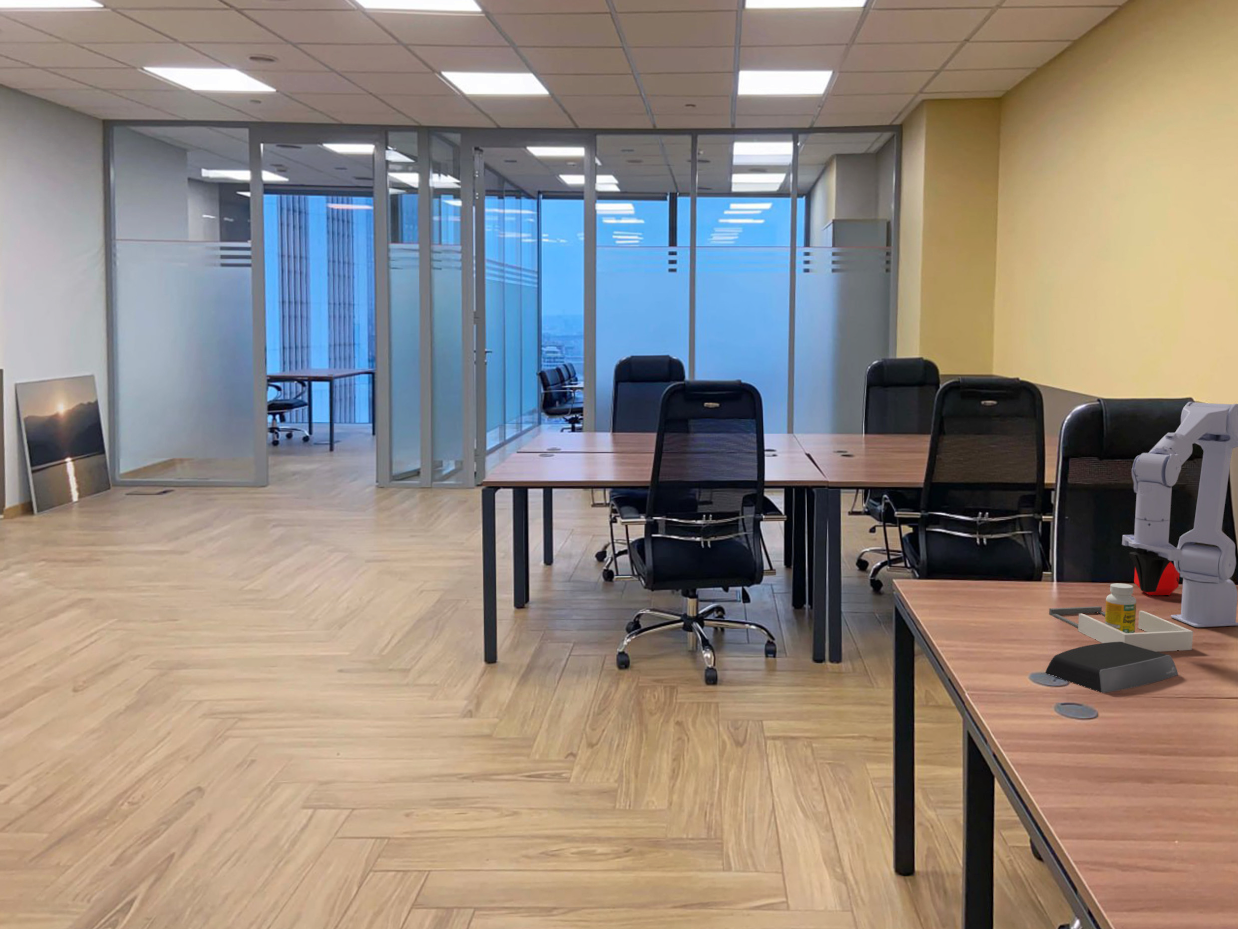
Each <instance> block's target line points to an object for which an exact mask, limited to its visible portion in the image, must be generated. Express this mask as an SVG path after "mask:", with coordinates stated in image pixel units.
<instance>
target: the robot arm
mask: <svg viewBox="0 0 1238 929" xmlns="http://www.w3.org/2000/svg"><path fill="white" fill-rule="evenodd" d="M1193 444H1196V445H1197V446H1200V447H1201V449H1202V450H1203V454H1202V461H1201V470H1200V477H1199V478H1200V479H1199V485H1198V492H1197V493H1198V494H1197V501H1196V509H1195V517H1194V523H1193V529H1190V530H1189V531H1187V532H1185V533H1183V534H1182V535H1181V536H1179V540H1178V544H1177V546H1176V547H1175V546H1174V545H1173V544H1171V543H1170V542H1169V538H1170V523H1171V508H1172V506H1171V505H1172V490H1173V488H1172V487H1173V486H1174V485H1176V483H1177V482H1178V479H1179V475H1180V473H1181V472H1182V471H1181V470H1182V466H1183V464H1184V463H1185V462H1186V461H1187V460H1188V459H1189V458H1190V457H1191V455H1192V454H1193V450H1194V449H1193V447H1194V446H1193ZM1236 448H1238V403H1231V404H1230V403H1214V402H1213V403H1208V402H1194V401H1188V402H1187V403H1186V404H1185V406H1183V408H1182V410H1181V415H1180V425H1179V426H1178V427H1177V429H1176V431H1175V432H1167V433H1166V434H1165V435H1164V436H1163V437H1162V438H1161V439H1160V440H1159V441H1158V442H1157V443H1156V444H1154V446H1153V447H1152V448H1151V449H1150V450H1149V452H1142V453H1141V454H1139V455H1137V456H1136V457H1135V458H1134V460H1133V463H1132V468H1131V478H1132V481H1133V492H1134V493H1135V494H1136V499H1135V500H1136V501H1135V514H1134V515H1135V518H1134V534H1122V541H1121V545H1122V546H1125V547H1131V548H1134V549H1136V550H1135V551H1130V552H1129V558H1130V559H1131V561H1132V563H1133V565H1134V569H1135V568H1136V571H1137V575H1138V579H1139V584H1140V588H1139V589H1140V591H1142V592H1143V591H1144V592H1143V593H1145V592H1156V589H1157V586H1158V583H1159V581H1160V578H1161V576H1162V573H1163V571H1164V570H1165V568H1166V566H1167V565H1168V564H1169V562H1172V561H1173V565H1174V566H1175V568H1176V570H1177V571H1178V572H1179V578H1182V591H1181V606H1180V614H1171V615H1170V618H1171V619H1175V620H1177V621H1179V622H1182V623H1184V624H1186V625H1190V626H1192V627H1195V628H1209V627H1211V628H1212V627H1227V626H1228V627H1229V626H1231V627H1232V626H1238V622H1237V621H1236V619H1237V609H1238V589H1237V586H1236V584H1235V582H1234V581H1233V580H1231V578H1232V576H1233V575H1234V573H1235V569H1236V565H1237V558H1236V544H1235V542H1234V540H1232V539H1231V538H1230V537H1229V536H1227V534H1226V533H1224V532H1223V530H1222V529H1223V520H1224V514H1225V513H1224V512H1225V504H1226V499H1227V492H1228V482H1229V476H1230V469H1231V459H1232V454H1233V450H1234V449H1236ZM1195 543H1198V544H1195ZM1202 544H1206V545H1202ZM1207 545H1208V546H1207ZM1209 545H1212V546H1209ZM1213 545H1214V546H1213ZM1216 546H1217V547H1216Z"/></svg>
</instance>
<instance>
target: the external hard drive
mask: <svg viewBox="0 0 1238 929" xmlns="http://www.w3.org/2000/svg"><path fill="white" fill-rule="evenodd" d="M1044 673H1047V674H1046V675H1048V674H1050V675H1049V676H1051V675H1054V676H1057V677H1060V678H1062V679H1061V680H1063V679H1065V680H1064V681H1066V680H1067V681H1066V682H1069V681H1070V682H1069V683H1072V682H1073V684H1075V685H1078V684H1079V685H1078V686H1081V685H1082V686H1081V687H1084V686H1085V687H1084V688H1087V689H1090V688H1091V689H1090V690H1093V689H1094V690H1093V691H1096V690H1097V691H1096V692H1098V691H1099V692H1098V693H1101V692H1102V694H1104V693H1111V692H1116V691H1123V690H1127V689H1128V690H1129V689H1133V688H1137V687H1142V686H1146V685H1150V684H1153V683H1157V682H1161V681H1164V679H1165V680H1167V679H1171V678H1173V677H1176V676H1178V675H1179V673H1178V669H1177V666H1176V664H1175V661H1174V659H1173V657H1172V656H1171V655H1170V654H1165V653H1162V652H1155V651H1152V650H1148V649H1144V648H1141V647H1137V646H1134V645H1131V644H1127V643H1124V642H1109V643H1101V642H1099V643H1094V644H1089V645H1084V646H1078V647H1075V648H1072V649H1068V650H1065V651H1062V652H1060V653H1057V654H1056V655H1054V656H1053V657H1052V658H1051V660H1050V662H1049V664H1048V665H1047V668H1046V669H1045V672H1044ZM1054 676H1053V677H1054ZM1057 677H1056V678H1057ZM1060 678H1059V679H1060ZM1122 689H1123V690H1122Z"/></svg>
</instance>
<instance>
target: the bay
mask: <svg viewBox="0 0 1238 929" xmlns="http://www.w3.org/2000/svg"><path fill="white" fill-rule="evenodd" d="M1077 624H1078V628H1077V632H1080V633H1081V634H1083V635H1085V636H1087V637H1089V638H1090V639H1091V638H1092V639H1093V640H1095V639H1096V642H1097V641H1098V642H1099V643H1109V642H1124V643H1127V644H1131V645H1134V646H1137V647H1141V648H1144V649H1148V650H1152V651H1155V652H1159V653H1161V652H1175V651H1176V652H1177V650H1179V651H1193V639H1194V638H1193V636H1194V631H1193V630H1190V629H1188V628H1186V627H1183V626H1181V625H1179V624H1176V623H1174V622H1172V621H1168V620H1166V619H1164V618H1161V617H1160V616H1157V615H1154V614H1152V613H1149V612H1147V611H1146V610H1145V611H1144V610H1139V611H1138V623H1137V625H1138V627H1137V628H1138V629H1140V630H1141V629H1142V631H1143V630H1144V631H1143V632H1135V633H1124V632H1122V631H1120V630H1118V629H1116V628H1113V627H1111V626H1109V625H1107V624H1105V622H1103V621H1100V620H1098V619H1095V618H1093V617H1091V616H1089V615H1087V614H1078V623H1077Z"/></svg>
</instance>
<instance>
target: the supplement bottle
mask: <svg viewBox="0 0 1238 929" xmlns="http://www.w3.org/2000/svg"><path fill="white" fill-rule="evenodd" d="M1109 586H1110V587H1109V591H1110V594H1108V595H1107V596H1106V598H1105V611H1104V612H1105V616H1104V617H1105V619H1104V623H1105V624H1107V625H1109V626H1111V627H1113V628H1116V629H1118V630H1120V631H1122V632H1124V633H1136V630H1135V629H1136V613H1137V599H1136V597H1134V595H1133V593H1134V585H1131V584H1128V583H1121V582H1120V583H1117V582H1116V583H1111V584H1110V585H1109Z"/></svg>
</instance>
